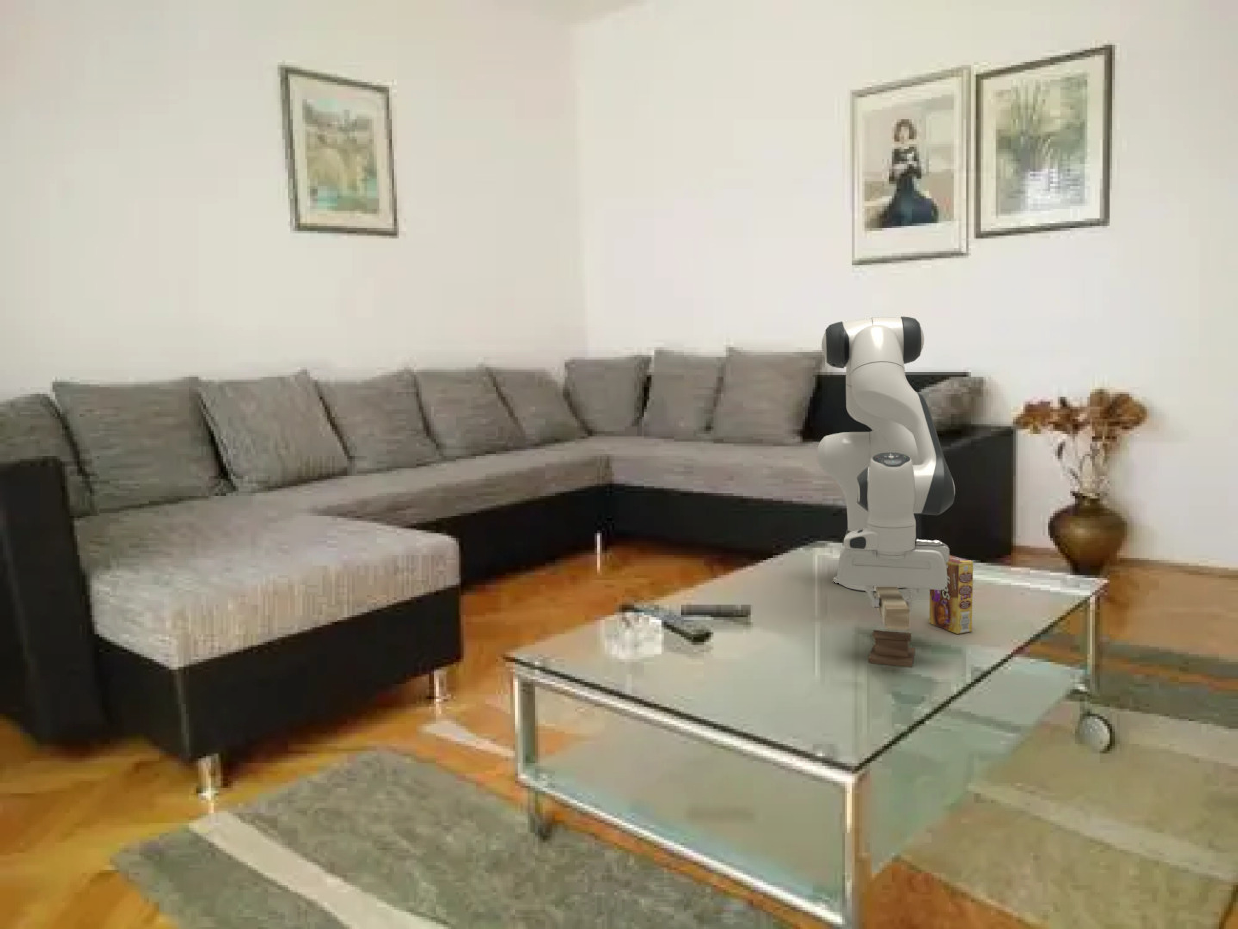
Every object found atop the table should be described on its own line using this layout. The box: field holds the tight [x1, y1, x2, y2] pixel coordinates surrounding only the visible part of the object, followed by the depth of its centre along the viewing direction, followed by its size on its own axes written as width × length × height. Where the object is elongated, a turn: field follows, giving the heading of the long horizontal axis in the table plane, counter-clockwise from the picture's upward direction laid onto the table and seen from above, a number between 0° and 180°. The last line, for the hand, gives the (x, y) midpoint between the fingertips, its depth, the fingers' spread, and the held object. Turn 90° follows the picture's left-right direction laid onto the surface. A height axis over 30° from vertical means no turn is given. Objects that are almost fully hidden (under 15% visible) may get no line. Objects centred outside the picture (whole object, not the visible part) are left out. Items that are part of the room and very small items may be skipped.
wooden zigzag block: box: [875, 587, 910, 631], centre depth 168 cm, size 15×4×4 cm, turn 171°
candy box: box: [928, 554, 974, 635], centre depth 185 cm, size 9×4×15 cm, turn 20°
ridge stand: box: [867, 629, 916, 668], centre depth 169 cm, size 8×8×5 cm
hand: (891, 608), depth 168 cm, fingers closed on wooden zigzag block, 5 cm apart
